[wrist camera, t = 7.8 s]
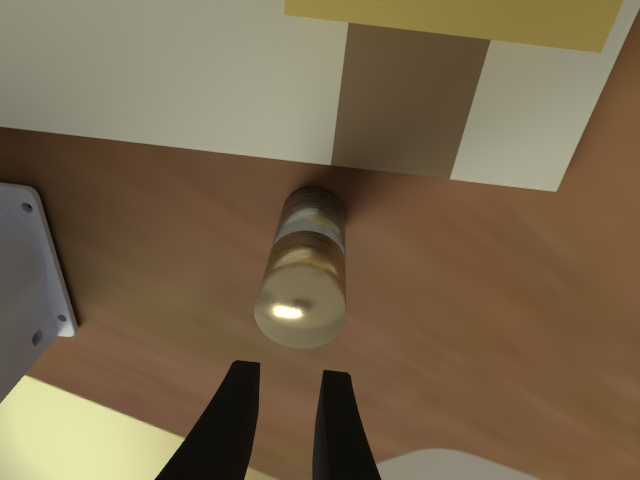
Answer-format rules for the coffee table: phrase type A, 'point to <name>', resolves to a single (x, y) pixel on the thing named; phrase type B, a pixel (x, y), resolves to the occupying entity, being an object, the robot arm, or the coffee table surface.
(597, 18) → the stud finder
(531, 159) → the subfloor board
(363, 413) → the coffee table surface
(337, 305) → the banded metal canister
